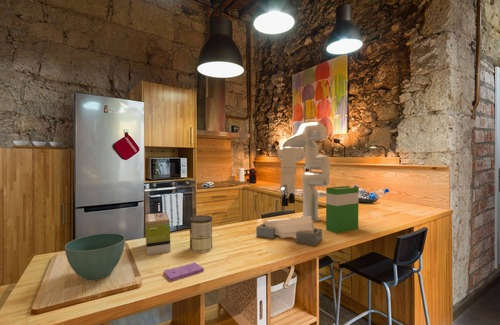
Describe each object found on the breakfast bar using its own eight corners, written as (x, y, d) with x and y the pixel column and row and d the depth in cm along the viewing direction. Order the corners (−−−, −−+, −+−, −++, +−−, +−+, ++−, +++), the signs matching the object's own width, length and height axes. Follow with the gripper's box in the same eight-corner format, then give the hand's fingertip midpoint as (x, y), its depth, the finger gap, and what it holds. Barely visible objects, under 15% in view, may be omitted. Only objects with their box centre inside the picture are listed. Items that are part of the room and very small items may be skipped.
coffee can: (185, 248, 117) (185, 217, 117) (204, 242, 124) (204, 214, 124) (197, 254, 110) (197, 221, 109) (217, 248, 117) (217, 217, 117)
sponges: (163, 275, 92) (163, 270, 92) (195, 266, 100) (195, 261, 100) (170, 283, 86) (170, 277, 86) (204, 272, 94) (204, 267, 94)
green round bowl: (130, 277, 89) (129, 243, 89) (65, 294, 79) (64, 254, 78) (121, 260, 104) (120, 230, 104) (65, 272, 93) (65, 239, 93)
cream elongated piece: (314, 243, 123) (309, 217, 124) (267, 245, 135) (263, 222, 135) (317, 240, 128) (312, 215, 129) (271, 242, 139) (267, 219, 140)
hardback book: (347, 225, 153) (348, 185, 153) (358, 229, 147) (358, 187, 146) (326, 230, 145) (326, 187, 144) (336, 233, 139) (336, 189, 138)
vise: (266, 230, 144) (266, 221, 144) (321, 238, 130) (321, 229, 130) (256, 236, 134) (256, 226, 134) (315, 246, 119) (315, 235, 119)
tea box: (145, 244, 123) (145, 213, 122) (167, 241, 127) (167, 211, 126) (146, 255, 109) (145, 221, 108) (170, 252, 113) (170, 218, 112)
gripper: (287, 170, 140) (287, 201, 140) (275, 171, 125) (274, 206, 125) (300, 170, 137) (300, 202, 137) (289, 171, 121) (289, 208, 121)
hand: (288, 204), depth 131 cm, fingers open, 9 cm apart
